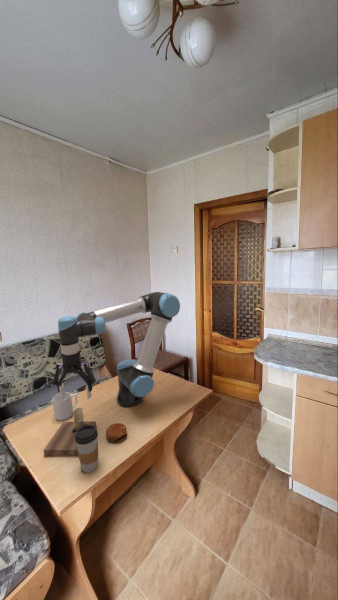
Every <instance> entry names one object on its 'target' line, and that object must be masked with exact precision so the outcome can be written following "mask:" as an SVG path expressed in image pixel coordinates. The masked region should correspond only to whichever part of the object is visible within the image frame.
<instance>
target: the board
mask: <svg viewBox="0 0 338 600" xmlns="http://www.w3.org/2000/svg"><path fill="white" fill-rule="evenodd" d="M86 425H93V426H95V427H96V428H97V421H95V420H94V421H90V420H89V421H87V420H86V421H84V426H86ZM75 435H76V431H75V424H74V421H62V423H61V425H60V426H59V428H58V429H57V430H56V432H55V433H54V435H53V436H52V437H51V439H50V440H49V441H48V443H47V445H46V446H45V447H44V448H43V457H46V458H47V457H50V458H51V457H52V458H53V457H79V456H78V451H77V444H76V442H75Z"/></svg>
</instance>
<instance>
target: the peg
mask: <svg viewBox="0 0 338 600" xmlns="http://www.w3.org/2000/svg"><path fill="white" fill-rule="evenodd" d="M72 416H73V422H74V424H75V431H76V432H77V430H78V429H79V428H81V427H83V426H84V413H83V408H81V407H77V408H74V409H73V414H72Z"/></svg>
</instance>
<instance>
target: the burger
mask: <svg viewBox="0 0 338 600" xmlns="http://www.w3.org/2000/svg"><path fill="white" fill-rule="evenodd" d="M127 436H128V431H127V425H126V424H124V423H119V422H117V423H114V424H113V423H112V424H111V425H109V426H108V427H107V428H106V430H105V438H106V440H107V441H108V442H111V443H119V442H122V441H123V440H125V439H126V438H127Z"/></svg>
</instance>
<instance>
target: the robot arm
mask: <svg viewBox="0 0 338 600" xmlns="http://www.w3.org/2000/svg"><path fill="white" fill-rule="evenodd" d="M180 310H181V303H180V300H179V298H178V297H177V296H176V295H174V294H171V293H168V292H161V291H154V292H150V293H147V294H143V295H140V296H138V297H137V299H133V300H130V301H126V302H122V303H118V304H114V305H111V306H108V307H104V308H100V309H97V310H94V311H90V312H87V313H86V312H81V313H78V314H77V316H73V315H72V316H64V317H61V318H58V319H57V320H58V321H57V324H58V325H57V326H58V329H57V330H58V335H59V343H60V353H61V361H62V363H61V362H58V363H57V364H55V373H54V376H53V380H52V382H51V383H52V386H57V388H56V389H57V392H58V393H60V397H61V400H63V399H64V398H65V392H66V391H65V383H63V382H64V380H65V378H66V376H67V374H77V375H78V376H79V377H80V378H81V379H82V380H83V382H85V384H86V385H85V390H86V398H87V400H90V399H91V397H92V393H91V392H92V391H93V384H95V383H96V382H97V381H96V380H97V379H96V378H95V376H94V374H93V371H92V369H91V367H90V365H89V361H85V362H82V361H81V360H82V358H81V351H80V340H79V338H83V337H89V336H95V335H99V334H103V333H105V331H106V324H107V323H110V322H114V321H117V320H121V319H124V318H127V317H130V316H133V315H137V314H139V313H142V314H146V313H150V314H149V316H150V317H151V320H150V323H149V326H148V329H147V331H146V335H145V337H144V340H143V343H142V347H141V349H140V352H139V355H138V358H137V359H124V360H122V361H120V362H118V363H117V365H116V367H117V369H116V370H117V377H118V379H117V380H118V390H117V396H116V403H117V405H118V406H120V407H122V408H133V407H137V406H138V405H140V404H141V403H142V402H143V401H144V399H145V397H146V396H147V395H150V393H151V392H152V391H153V389H154V387H155V381H154V379H153V376H154V374H155V370H154V369H153V368H154V367H153V366H154V364H155V362H156V358H157V355H158V352H159V349H160V348H161V344H162V341H163V337H164V335H165V332H166V329H167V326H168V324H169V323H171V322H172V320H173V318H174V317H176V316H177V315H178V314H179V313H180ZM62 368H63V369H64V370H63V373H62V374H61V371H62ZM83 369H84V370H83ZM60 374H61V375H60ZM60 376H61V377H60Z"/></svg>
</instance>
